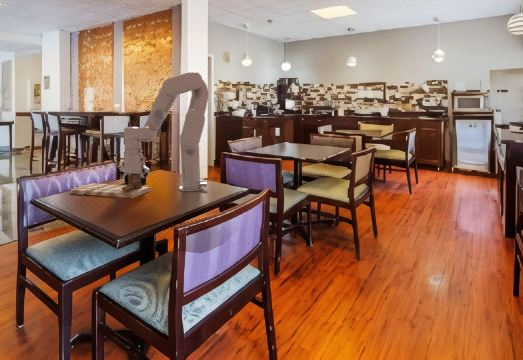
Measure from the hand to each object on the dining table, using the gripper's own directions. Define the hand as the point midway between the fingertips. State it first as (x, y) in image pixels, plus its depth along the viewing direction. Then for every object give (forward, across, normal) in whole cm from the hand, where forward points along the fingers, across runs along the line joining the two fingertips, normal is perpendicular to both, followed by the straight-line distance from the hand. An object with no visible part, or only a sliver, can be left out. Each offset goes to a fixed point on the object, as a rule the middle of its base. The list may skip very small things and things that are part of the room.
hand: (135, 184), depth 196 cm
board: (+4, +12, +4) cm, 13 cm away
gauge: (+2, 0, +3) cm, 4 cm away
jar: (+4, +16, -19) cm, 25 cm away
